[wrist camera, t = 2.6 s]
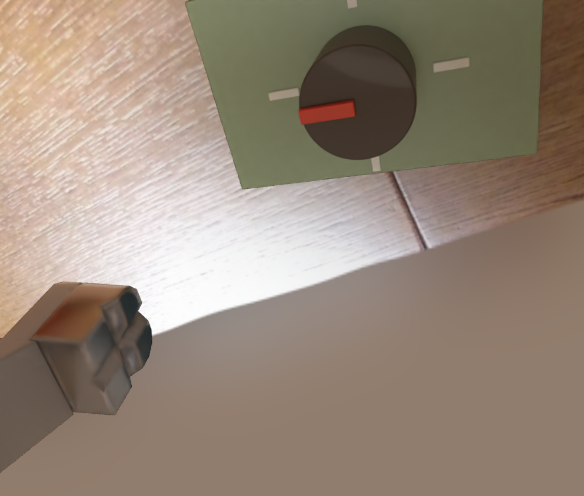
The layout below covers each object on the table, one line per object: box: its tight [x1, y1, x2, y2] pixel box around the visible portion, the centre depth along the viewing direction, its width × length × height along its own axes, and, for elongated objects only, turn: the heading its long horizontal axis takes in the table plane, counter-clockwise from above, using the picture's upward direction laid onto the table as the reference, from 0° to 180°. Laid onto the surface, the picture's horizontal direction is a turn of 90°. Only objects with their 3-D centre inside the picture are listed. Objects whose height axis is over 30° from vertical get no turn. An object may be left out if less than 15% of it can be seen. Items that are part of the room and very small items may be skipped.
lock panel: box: [185, 0, 543, 189], centre depth 23 cm, size 14×9×3 cm, turn 103°
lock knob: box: [298, 25, 417, 160], centre depth 20 cm, size 4×4×4 cm
